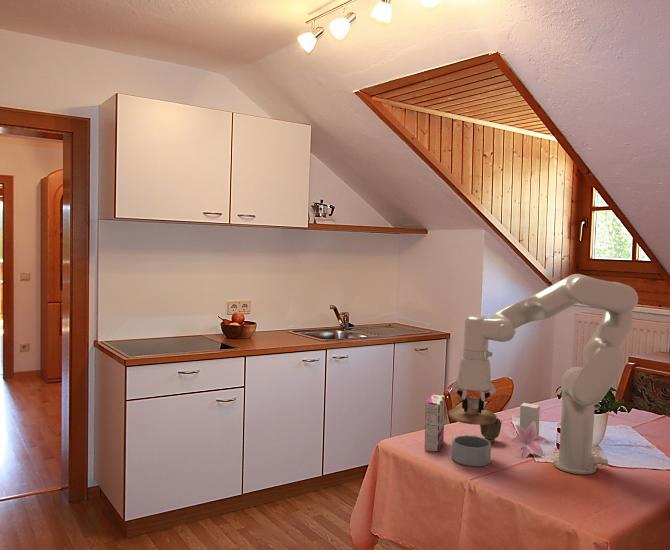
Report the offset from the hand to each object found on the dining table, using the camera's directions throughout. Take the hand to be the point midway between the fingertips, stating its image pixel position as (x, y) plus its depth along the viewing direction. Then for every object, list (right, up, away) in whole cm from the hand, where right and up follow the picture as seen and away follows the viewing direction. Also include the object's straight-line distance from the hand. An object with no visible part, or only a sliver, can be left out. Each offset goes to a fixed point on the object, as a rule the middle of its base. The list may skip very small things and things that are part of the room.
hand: (472, 410), depth 199 cm
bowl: (0, -16, +1) cm, 16 cm away
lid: (0, -2, 0) cm, 2 cm away
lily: (+20, -16, +8) cm, 27 cm away
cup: (+10, -15, +19) cm, 26 cm away
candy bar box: (-10, -15, +13) cm, 23 cm away
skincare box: (+25, -15, +24) cm, 38 cm away
